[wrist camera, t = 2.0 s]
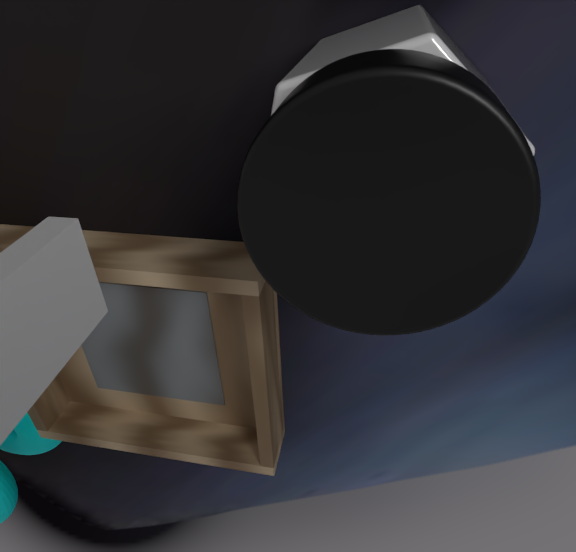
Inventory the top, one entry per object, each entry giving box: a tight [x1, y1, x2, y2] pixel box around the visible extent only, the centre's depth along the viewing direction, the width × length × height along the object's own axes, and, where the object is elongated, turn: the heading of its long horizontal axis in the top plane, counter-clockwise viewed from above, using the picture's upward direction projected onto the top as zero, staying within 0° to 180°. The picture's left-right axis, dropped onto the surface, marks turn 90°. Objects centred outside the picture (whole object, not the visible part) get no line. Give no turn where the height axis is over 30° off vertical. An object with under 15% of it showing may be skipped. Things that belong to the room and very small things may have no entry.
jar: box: [237, 5, 541, 335], centre depth 17 cm, size 9×8×12 cm
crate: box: [0, 224, 285, 476], centre depth 33 cm, size 20×18×4 cm
